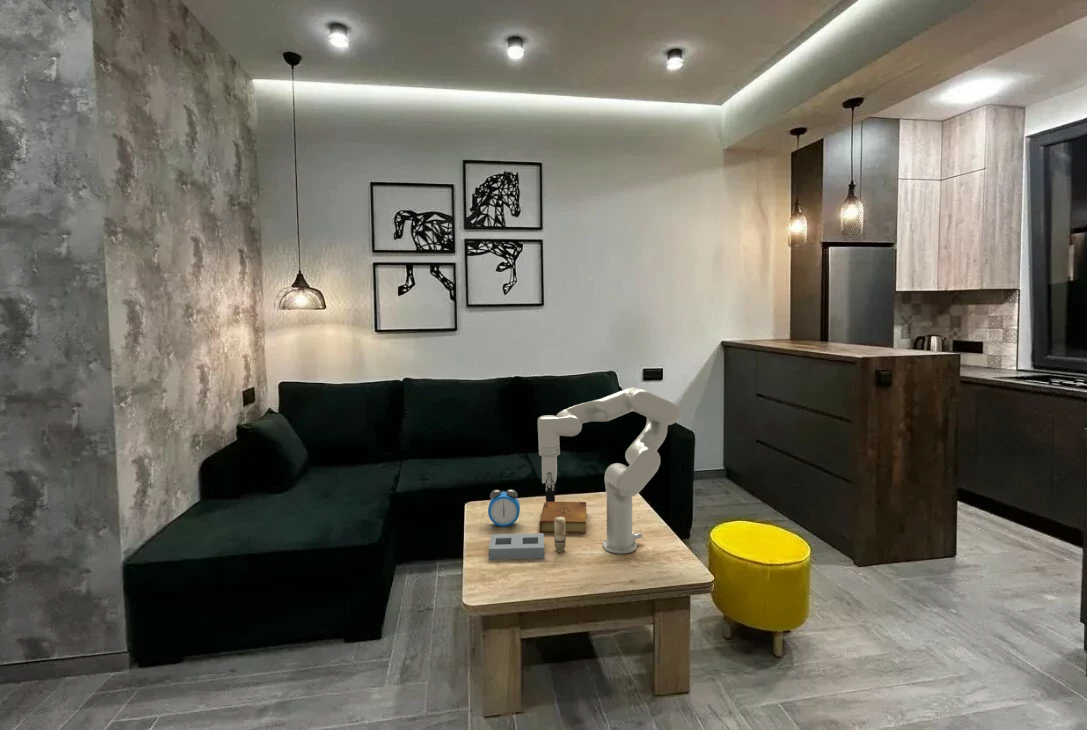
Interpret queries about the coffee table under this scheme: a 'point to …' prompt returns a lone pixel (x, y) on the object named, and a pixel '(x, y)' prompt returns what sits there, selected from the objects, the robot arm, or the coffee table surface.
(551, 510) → the diary
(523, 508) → the coffee table surface
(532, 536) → the board
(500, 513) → the alarm clock
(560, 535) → the dowel
